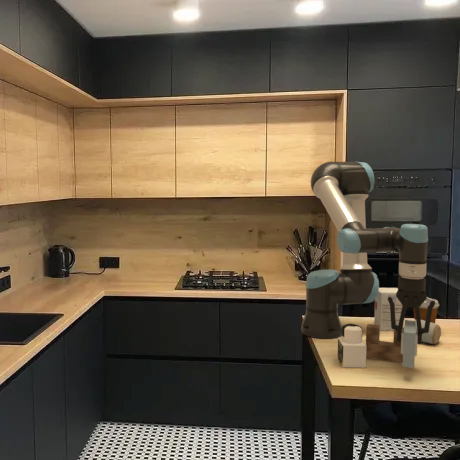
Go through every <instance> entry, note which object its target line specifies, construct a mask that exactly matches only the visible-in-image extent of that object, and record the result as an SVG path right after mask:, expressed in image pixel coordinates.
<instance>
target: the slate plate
mask: <svg viewBox="0 0 460 460" xmlns="http://www.w3.org/2000/svg"><path fill="white" fill-rule="evenodd" d="M403 327H404V343H403V363H402V367H404V368H410V369H414V368H415V358H416V357H415V336H416V321H415V320H410V319H404V324H403Z"/></svg>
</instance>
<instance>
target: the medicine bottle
mask: <svg viewBox="0 0 460 460" xmlns="http://www.w3.org/2000/svg"><path fill="white" fill-rule="evenodd" d="M341 326H342V335H341V336H339V337H337V360H338V362H339V363H340V366H341V367H342V368H343V369H344V368H346V369H347V368H350V369H351V368H354V369H355V368H356V369H359V368H363V369H364V368H366V367H367V358H366V342H364V340H363V327H362V326H361V325H359V324H356V323H345V324H343V325H341Z"/></svg>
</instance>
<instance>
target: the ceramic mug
mask: <svg viewBox="0 0 460 460" xmlns="http://www.w3.org/2000/svg"><path fill="white" fill-rule="evenodd" d="M414 321H416V320H414ZM421 326H422V328H424V327H425V321H424V320H421ZM416 332H418V331H417V323H416ZM441 334H442V328H441V326H440V325H439V324H438V323H436V322H435V323H431V322H430V327H429V332H428V333H423V334H422V343H426V344H430V345H437V344H438V343H439V342H440V339H441V336H442V335H441Z"/></svg>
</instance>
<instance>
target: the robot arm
mask: <svg viewBox="0 0 460 460" xmlns="http://www.w3.org/2000/svg"><path fill="white" fill-rule="evenodd" d="M374 174H375V173H374V171H373V169H372V167H371V166H370V164H368V163H367V162H365V161H363V162H362V161H361V162H360V161H326V162H323V163H322V164H320V165H318V166H317V167H316V168H315V169H314V171H313V172H312V175H311V177H310V188H311V191H312V193H313V195H314V196H315V197H316V198H317V199H319V200H320V201H321V203H322V205H323V206H324V208H325V210H326V212H327V214H328V216H329V217H330V219H331V220H332V222H333V224H334V226H335V228H336V230H337V235H336V244H337V248H338V250H339V251H340V252H341V253H343V265H341V267H340V268H339V271H338V270H336V269H326V268H325V269H318V270H314V271H311V272H310V273H308V274H307V276H306V284H305V289H306V291H305V292H306V293H305V298H306V299H305V301H306V302H305V308H306V309H305V314H304V317H303V319H302V322H301V327H300V331H301V333H302V334H303V335H305V336H306V337H311V338H313V339H314V338H315V339H336V338H339V337H342V326H343V325H342V323H341V319H340V317H339V313H338V312H339V310H338V309H339V307H338V306H339V305H341V306H342V305H356V304H357V305H358V304H359V305H363V304H370V303H373V302H375V298H376V296H377V294H378V290H379V288H380V281H379V278H378V275H377V274H376V273H375V272H373V268H372V267H371V265H370V264H368V254H369V253H396V254H398V256H399V257H398V258H399V259H398V275H399V276H397V277H398V280H397V281H398V282H397V288H398V291H397V293H396V294H395V295H392V296H391V295H389V296H388V301H389V304H390V313H391V328H392V329H395V330H396V331H397V341H398V342H401V354H403V343H404V330H402V327H404V324H405V318H406V312H407V309H410V308H411V309H413V308H415V315H416V323H417V331H418V332H416V336H415V356H416V357H417V356H418V345H422V343H423V342H422V334H423V333H428V332H429V327H430V320H431V314H432V308H433V307H434V305H435V300H436V299H435V298H431V299H430V297H428V296H427V293H426V285H427V284H426V283H427V279H426V278H425V277H426V276H427V260H428V242H429V236H428V234H429V233H428V230H429V229H428V226H426V225H424V224H418V223H405V224H402V225H401V226H400V228H398V227H395V226H385V227H383V228H378V227H377V228H373V227H372V228H371V227H370V228H366V226H367V224H366V205H365V204H366V199H368V197H369V193H370V192H372V191H373V189H374V187H375V175H374ZM396 298H398V300H399V301H400V303H401V304H402V310H401V315H400V320H399V324H398V325H396V319H395V302H396ZM434 299H435V300H434ZM424 301H426V304H427V306H428V307H427V313H426V320H425V327H424V328H422V326H421V318H420V310H419V307H420V306H421V305H422V303H423V302H424Z"/></svg>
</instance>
